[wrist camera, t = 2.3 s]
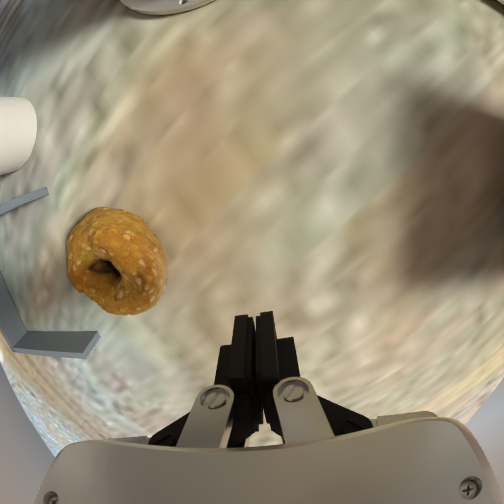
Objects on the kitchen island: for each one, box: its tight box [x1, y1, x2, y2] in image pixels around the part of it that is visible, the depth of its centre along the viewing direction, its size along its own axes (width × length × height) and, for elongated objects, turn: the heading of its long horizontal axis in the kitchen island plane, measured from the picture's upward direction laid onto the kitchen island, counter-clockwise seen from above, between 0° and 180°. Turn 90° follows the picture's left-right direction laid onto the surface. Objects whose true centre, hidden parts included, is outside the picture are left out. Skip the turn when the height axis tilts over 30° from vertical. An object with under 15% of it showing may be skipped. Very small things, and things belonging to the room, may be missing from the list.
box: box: [0, 187, 100, 359], centre depth 24 cm, size 18×15×4 cm
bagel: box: [67, 208, 168, 315], centre depth 23 cm, size 10×11×5 cm
